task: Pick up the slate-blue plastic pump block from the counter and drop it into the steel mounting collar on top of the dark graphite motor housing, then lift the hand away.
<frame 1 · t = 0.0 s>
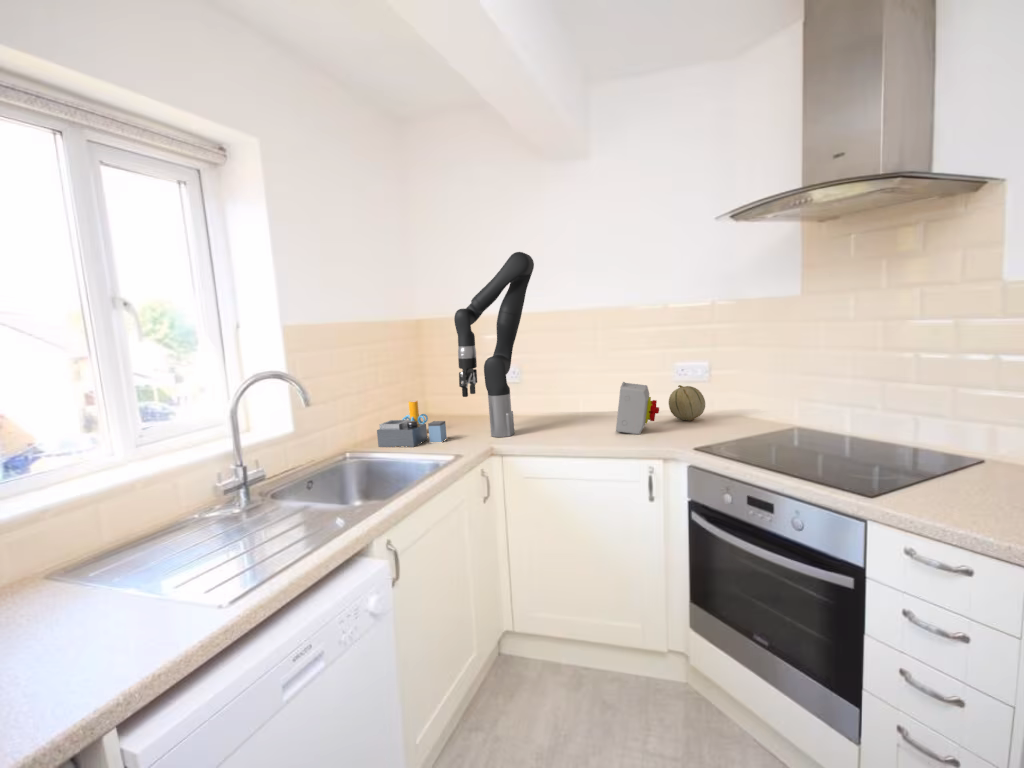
hand: (469, 395, 216), 17 cm above the table, tool pointing down, fingers open, 8 cm apart
motor: (403, 443, 212), on the table
cantaloupe: (687, 420, 218), on the table
electrical switch box: (638, 431, 204), on the table
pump: (438, 441, 211), on the table
cylinder: (416, 434, 229), on the table
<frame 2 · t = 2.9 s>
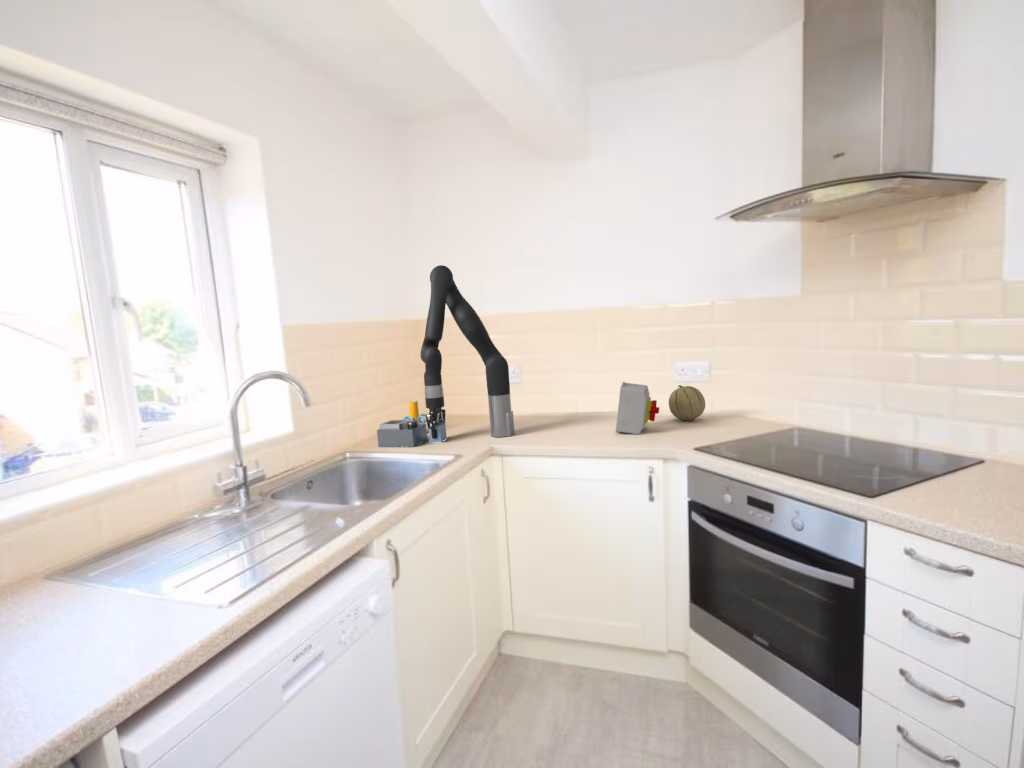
hand: (437, 436, 211), 2 cm above the table, tool pointing down, fingers closed on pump, 5 cm apart
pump: (438, 441, 211), on the table, touching gripper
everything else where it was.
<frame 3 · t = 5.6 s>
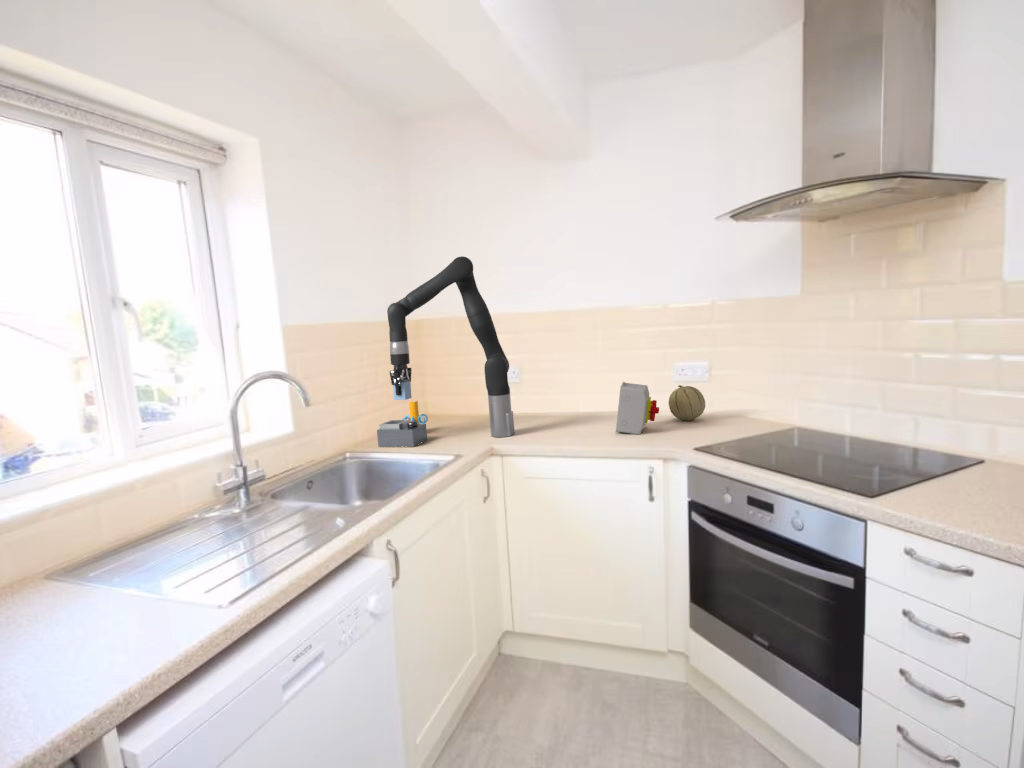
hand: (402, 394, 210), 20 cm above the table, tool pointing down, fingers closed on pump, 5 cm apart
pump: (402, 398, 210), point 18 cm above the table, touching gripper
everything else where it was.
when the fingers open (10 cm above the table, at t = 8.2 s): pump drops 1 cm, resting on motor.
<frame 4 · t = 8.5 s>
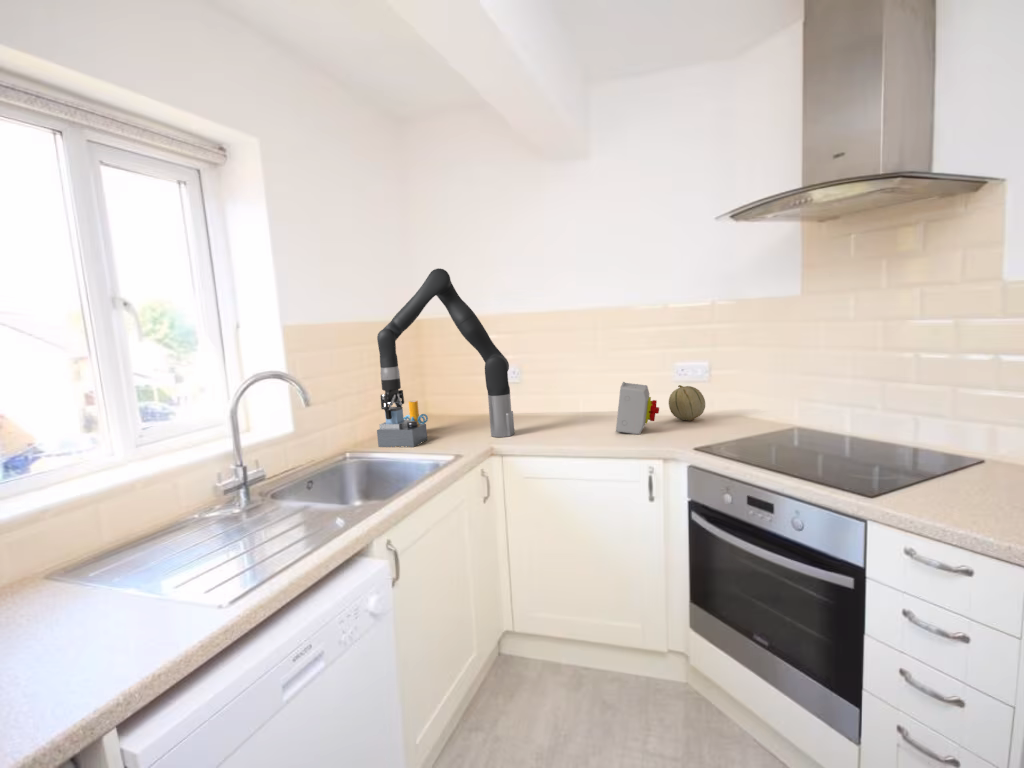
hand: (394, 417, 211), 11 cm above the table, tool pointing down, fingers open, 8 cm apart
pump: (395, 426, 212), point 7 cm above the table, touching motor
everything else where it was.
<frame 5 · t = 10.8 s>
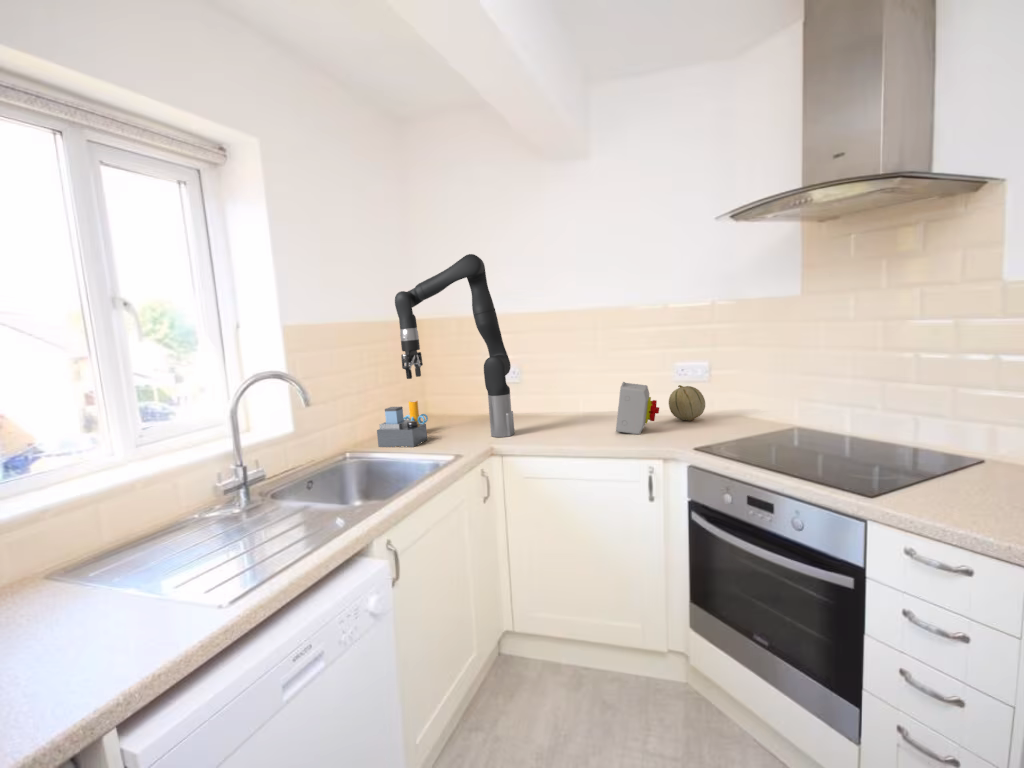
hand: (414, 377, 218), 26 cm above the table, tool pointing down, fingers open, 8 cm apart
nothing on the table moved.
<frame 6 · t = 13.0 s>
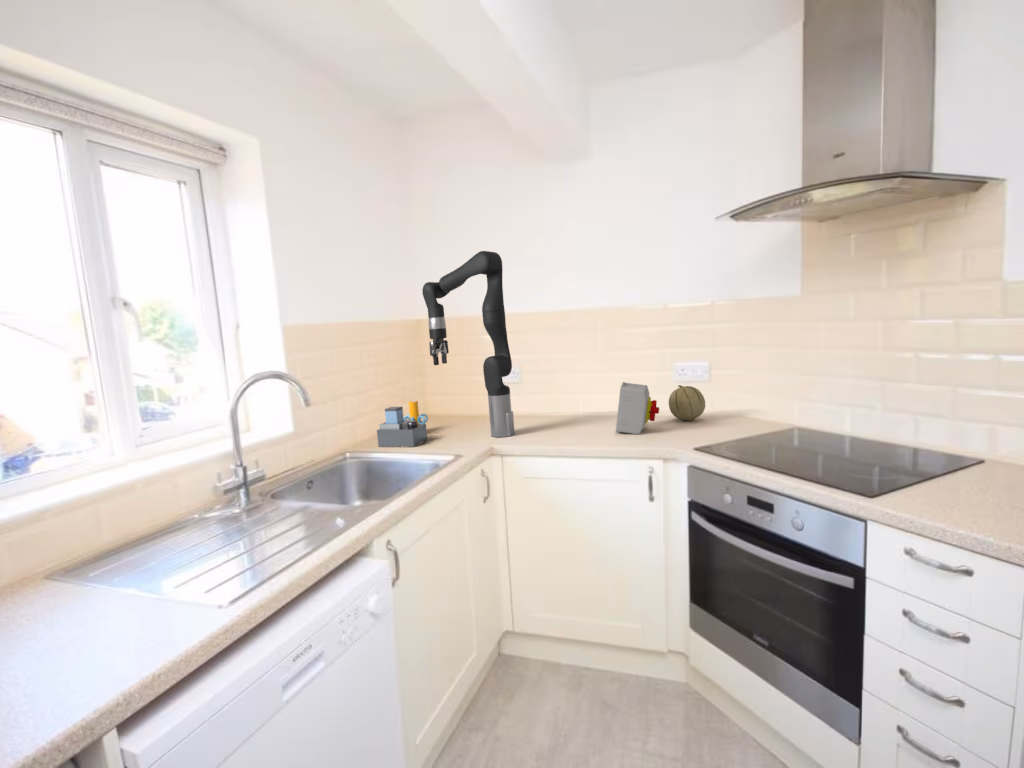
hand: (440, 364, 229), 30 cm above the table, tool pointing down, fingers open, 8 cm apart
nothing on the table moved.
at the end: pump 0.1 cm from the target spot on the motor, point 7.0 cm above the motor's base; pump tilted 0°; the gripper is holding nothing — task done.
